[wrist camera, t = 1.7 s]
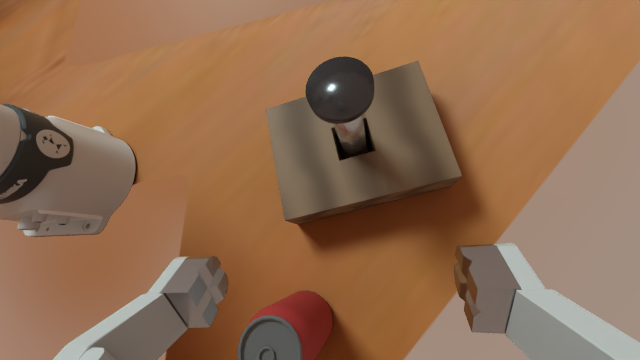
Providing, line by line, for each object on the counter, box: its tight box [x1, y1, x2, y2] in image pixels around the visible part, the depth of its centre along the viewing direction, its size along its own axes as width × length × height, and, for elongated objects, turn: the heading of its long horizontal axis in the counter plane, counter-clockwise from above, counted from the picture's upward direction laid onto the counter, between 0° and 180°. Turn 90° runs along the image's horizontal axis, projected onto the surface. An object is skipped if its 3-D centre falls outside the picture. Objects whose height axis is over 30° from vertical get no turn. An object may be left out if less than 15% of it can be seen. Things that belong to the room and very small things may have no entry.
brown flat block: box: [266, 61, 462, 224], centre depth 35 cm, size 20×15×5 cm
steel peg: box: [306, 57, 375, 159], centre depth 30 cm, size 6×6×16 cm
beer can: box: [238, 291, 333, 360], centre depth 28 cm, size 7×7×12 cm
